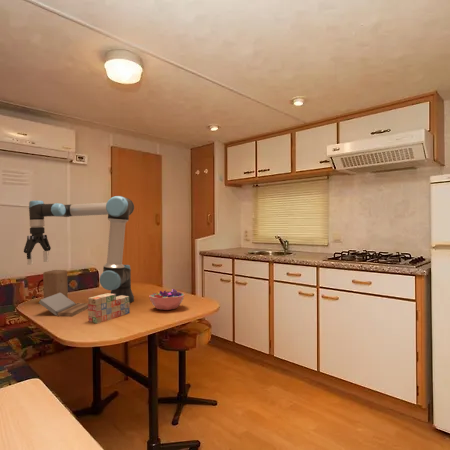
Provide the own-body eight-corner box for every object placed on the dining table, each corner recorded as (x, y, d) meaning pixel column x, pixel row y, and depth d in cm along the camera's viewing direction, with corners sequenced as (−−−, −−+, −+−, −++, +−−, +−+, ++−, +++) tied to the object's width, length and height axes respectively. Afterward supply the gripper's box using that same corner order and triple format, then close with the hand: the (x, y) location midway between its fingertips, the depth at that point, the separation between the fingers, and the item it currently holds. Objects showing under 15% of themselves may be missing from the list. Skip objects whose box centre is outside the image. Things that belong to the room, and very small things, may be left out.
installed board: (91, 307, 192) (91, 303, 192) (72, 316, 172) (72, 312, 172) (78, 307, 193) (78, 303, 193) (57, 316, 173) (57, 312, 173)
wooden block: (57, 305, 198) (56, 272, 197) (43, 304, 200) (42, 272, 199) (68, 301, 207) (67, 269, 207) (54, 300, 209) (54, 269, 209)
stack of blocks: (121, 311, 181) (121, 289, 181) (129, 313, 178) (129, 290, 178) (88, 322, 163) (87, 297, 163) (96, 324, 159) (95, 298, 159)
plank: (74, 307, 192) (76, 304, 192) (56, 315, 174) (58, 312, 174) (58, 295, 193) (60, 292, 193) (38, 302, 175) (40, 299, 175)
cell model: (154, 305, 194) (153, 286, 194) (187, 305, 193) (187, 286, 192) (145, 313, 177) (145, 292, 177) (182, 313, 176) (181, 292, 176)
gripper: (45, 226, 205) (46, 260, 205) (15, 227, 180) (16, 266, 180) (56, 226, 204) (57, 260, 204) (27, 227, 179) (29, 265, 179)
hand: (38, 263), depth 192 cm, fingers open, 13 cm apart
